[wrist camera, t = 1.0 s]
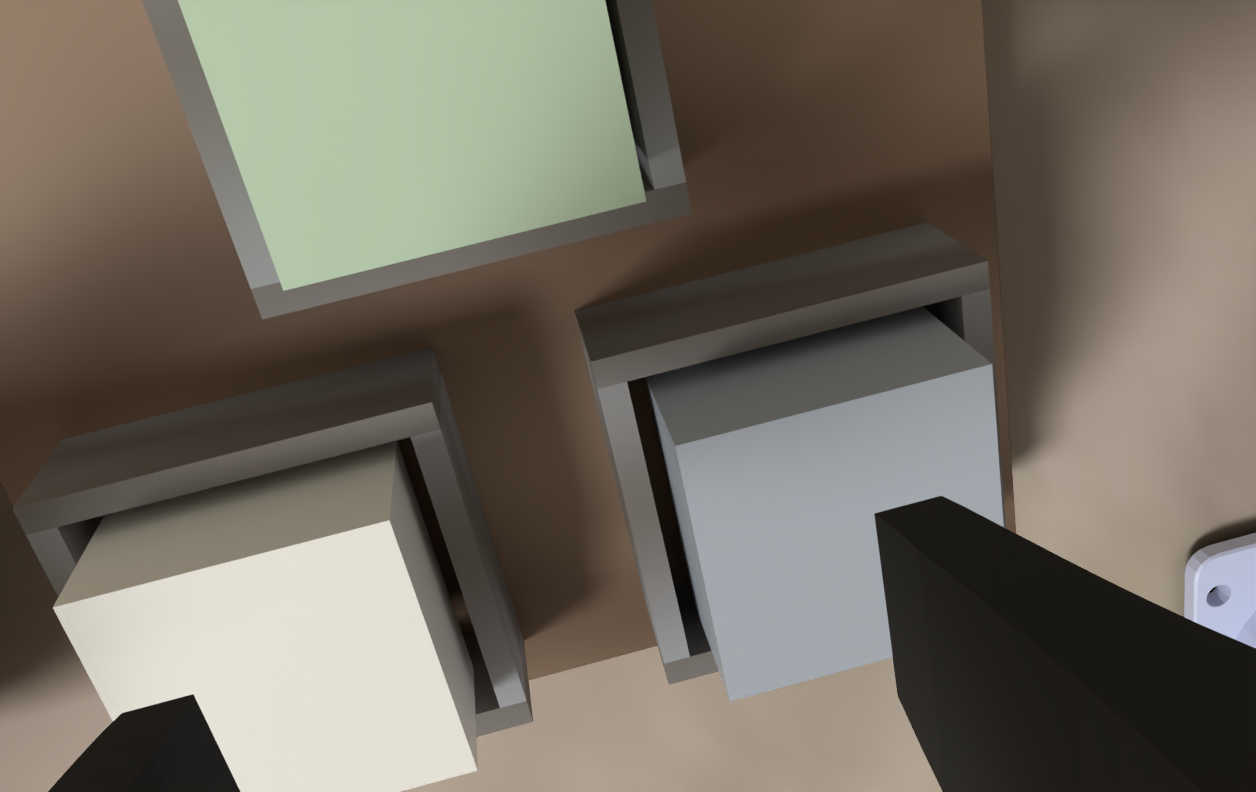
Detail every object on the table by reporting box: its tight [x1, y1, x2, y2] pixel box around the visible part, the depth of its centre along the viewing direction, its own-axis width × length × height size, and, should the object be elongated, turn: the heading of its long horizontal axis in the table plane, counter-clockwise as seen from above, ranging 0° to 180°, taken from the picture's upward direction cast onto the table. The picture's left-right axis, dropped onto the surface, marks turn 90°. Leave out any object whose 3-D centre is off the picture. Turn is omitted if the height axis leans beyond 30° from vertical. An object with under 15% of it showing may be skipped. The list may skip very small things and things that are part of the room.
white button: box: [53, 441, 478, 792], centre depth 15 cm, size 4×4×2 cm
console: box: [0, 0, 1016, 737], centre depth 16 cm, size 14×15×4 cm
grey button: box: [645, 306, 1004, 701], centre depth 15 cm, size 4×4×2 cm
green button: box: [178, 0, 646, 291], centre depth 12 cm, size 4×4×2 cm
